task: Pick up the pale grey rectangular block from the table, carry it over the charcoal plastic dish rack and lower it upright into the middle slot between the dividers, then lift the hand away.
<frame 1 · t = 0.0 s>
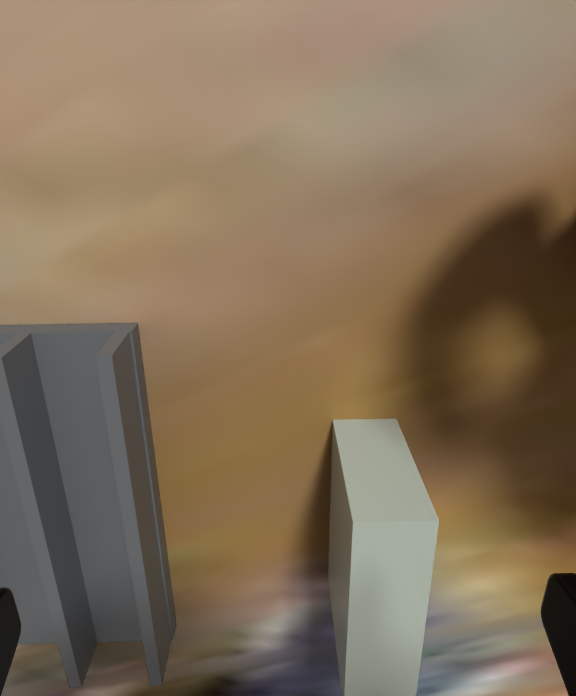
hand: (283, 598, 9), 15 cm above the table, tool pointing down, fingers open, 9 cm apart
pale grey rectangular block: (359, 503, 26), on the table
dish rack: (16, 497, 26), on the table
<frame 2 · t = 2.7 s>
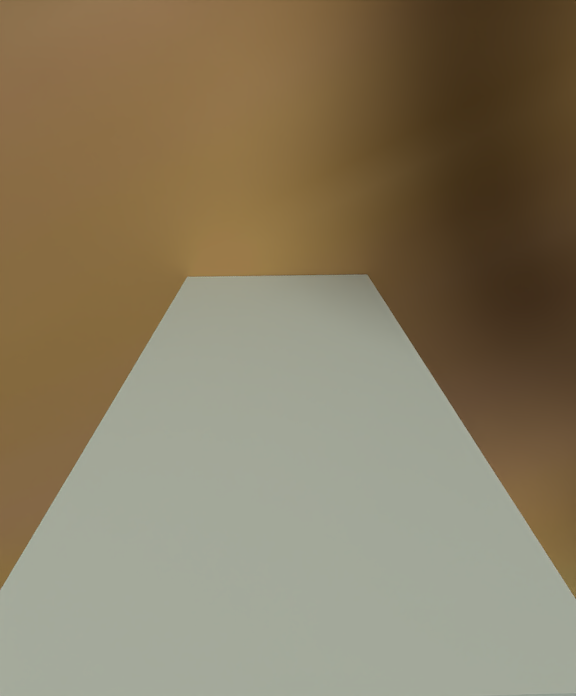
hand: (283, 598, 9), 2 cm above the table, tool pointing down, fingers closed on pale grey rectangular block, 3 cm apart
pale grey rectangular block: (281, 514, 11), on the table, touching gripper
when the fingers open (4 cm above the table, at t = 7.1 s): pale grey rectangular block stays where it is, resting on dish rack.
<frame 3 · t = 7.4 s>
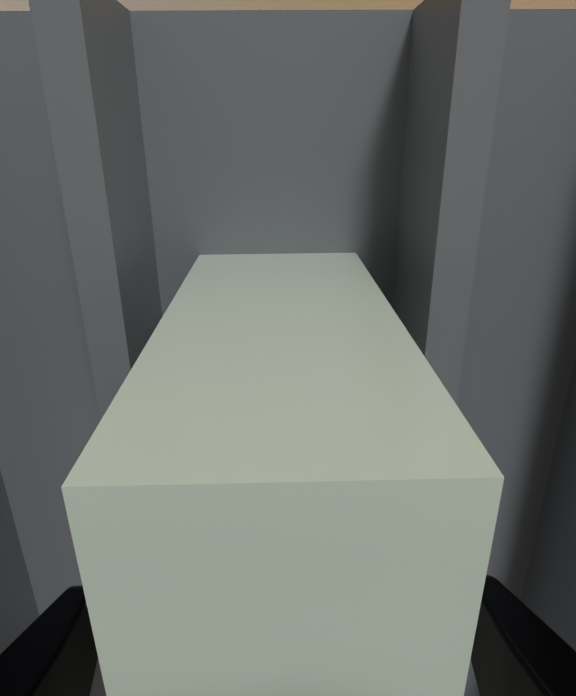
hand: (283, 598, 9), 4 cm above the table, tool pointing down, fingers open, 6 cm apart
pale grey rectangular block: (281, 470, 12), point 1 cm above the table, touching dish rack
dish rack: (279, 446, 13), on the table
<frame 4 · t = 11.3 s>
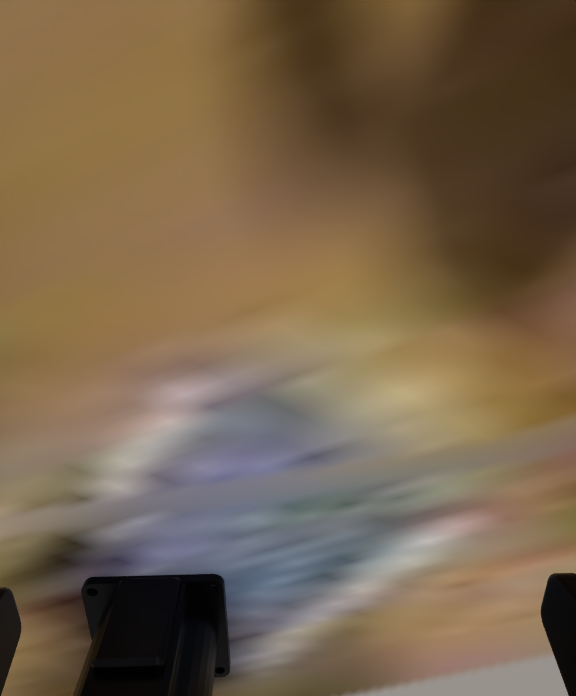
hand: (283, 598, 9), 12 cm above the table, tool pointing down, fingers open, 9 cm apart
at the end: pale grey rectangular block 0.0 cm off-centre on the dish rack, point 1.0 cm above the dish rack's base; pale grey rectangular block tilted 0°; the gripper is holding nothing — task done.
